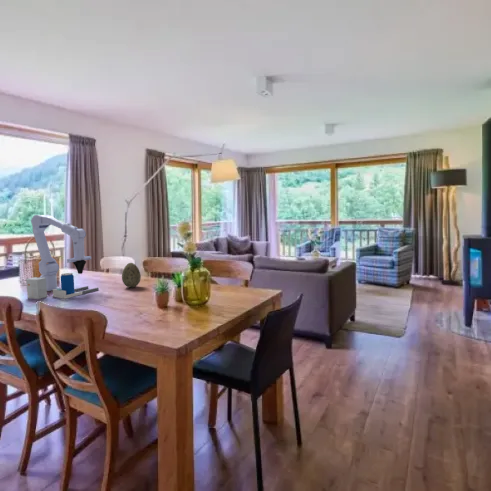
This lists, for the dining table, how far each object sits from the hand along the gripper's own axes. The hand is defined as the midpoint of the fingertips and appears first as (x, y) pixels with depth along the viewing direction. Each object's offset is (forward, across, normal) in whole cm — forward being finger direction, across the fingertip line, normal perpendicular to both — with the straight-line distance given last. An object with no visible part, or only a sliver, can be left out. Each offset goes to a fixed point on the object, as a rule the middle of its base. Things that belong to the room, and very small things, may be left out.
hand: (80, 273), depth 211 cm
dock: (+10, -5, -2) cm, 12 cm away
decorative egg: (+10, +20, -19) cm, 30 cm away
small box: (+11, -21, +8) cm, 25 cm away
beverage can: (+11, -10, -3) cm, 15 cm away
